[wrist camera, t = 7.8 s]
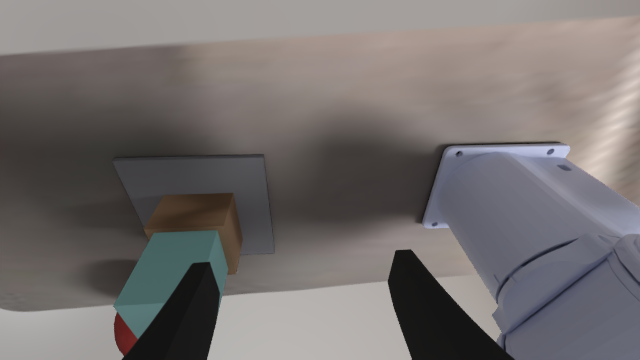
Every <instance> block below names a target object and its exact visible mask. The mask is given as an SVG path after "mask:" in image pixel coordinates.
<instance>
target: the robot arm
mask: <svg viewBox="0 0 640 360" xmlns="http://www.w3.org/2000/svg"><path fill="white" fill-rule="evenodd" d="M548 150H549V151H548ZM569 150H570V147H569V146H568V145H567V144H564V143H554V144H509V145H465V146H449V147H447V148H446V149H445V151H444V153H443V156H442V159H441V162H440V166H439V169H438V172H437V175H436V179H435V182H434V185H433V188H432V192H431V195H430V198H429V201H428V204H427V208H426V211H425V214H424V217H423V221H422V225H423V226H424V228H450V229H451V231H452V232H453V234H454V236H455V237H456V239H457V240H458V242H459V244H460V245H461V247H462V248H463V250H464V252H465V253H466V255H467V256H468V258H469V260H470V261H471V263H472V264H473V266H474V268H475V269H476V271H477V272H478V274H479V276H480V277H481V279H482V280H483V282H484V284H485V285H486V287H487V288H488V290H489V291H490V293H491V295H492V296H493V298H494V300H495V301H496V303H497V304H498V308H497V309H496V311H495V312H494V313H493V314H492V316H493V318H494V320H495V321H496V323H497V325H498V327H499V328H500V330H501V332H502V333H501V334H500V335H499V337H498V339H497V342H495V341H494V340H493V339H492V338H491V337H490V336H488V335H487V334H486V333H485V332H484V331H483V330H482V329H481V328H480V327H479V326H478V325H477V324H476V323H475V322H474V321H473V320H472V319H471V318H470V317H469V316H468V315H467V314H466V313H465V311H463V309H462V308H461V307H460V306H459V305H458V304H457V303H456V302H455V301H454V300H453V298H452V297H451V296H450V295H449V294H448V293H447V292H446V291H445V290H444V288H443V287H442V286H441V285H440V284H439V283H438V282H437V280H436V279H435V278H434V277H433V276H432V274H431V273H430V272H429V271H428V270H427V268H426V267H425V266H424V265H423V264H422V262H421V261H420V260H419V259H418V257H417V256H416V255H415V254H414V252H413V251H412V250H411V249H410V250H396V251H395V255H394V259H393V263H392V267H391V271H390V275H389V279H388V285H389V289H390V294H391V298H392V302H393V306H394V309H395V312H396V315H397V318H398V321H399V324H400V327H401V330H402V332H403V335H404V338H405V341H406V344H407V346H408V349H409V352H410V355H411V357H412V360H640V208H639V207H637V206H636V205H635V204H633V203H632V202H631V201H629V200H628V199H626V198H625V197H623V196H621V195H620V194H618V193H617V192H615V191H614V190H612V189H611V188H609V187H608V186H606V185H605V184H603V183H602V182H600V181H599V180H597V179H596V178H594V177H593V176H591V175H590V174H588V173H587V172H585V171H584V170H582V169H581V168H579V167H578V166H576V165H575V164H573V163H572V162H570V161H569V160H567V159H566V158H565V157H566V156H567V154H568V152H569ZM458 151H460V152H459V153H458V154H456V153H457V152H458ZM434 222H435V223H434ZM219 299H220V291H219V288H218V285H217V282H216V279H215V276H214V273H213V270H212V267H211V264H210V262H198V263H192V264H191V266H190V267H189V269H188V270H187V272H186V273H185V275H184V276H183V278H182V279H181V281H180V282H179V284H178V285H177V287H176V288H175V290H174V291H173V293H172V294H171V296H170V297H169V298H168V300H167V301H166V303H165V304H164V305H163V307H162V308H161V310H160V311H159V312H158V314H157V315H156V317H155V318H154V319H153V321H152V322H151V323H150V325H149V326H148V327H147V329H146V330H145V331H144V332H143V334H142V335H141V336H140V337H139V339H138V340H137V341H136V343H135V344H134V345H133V346H132V348H131V349H130V350H129V351H128V353H127V354H126V355H125V356H124V357H123V359H122V360H207V357H208V353H209V349H210V345H211V341H212V337H213V333H214V329H215V325H216V320H217V314H218V307H219Z"/></svg>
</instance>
